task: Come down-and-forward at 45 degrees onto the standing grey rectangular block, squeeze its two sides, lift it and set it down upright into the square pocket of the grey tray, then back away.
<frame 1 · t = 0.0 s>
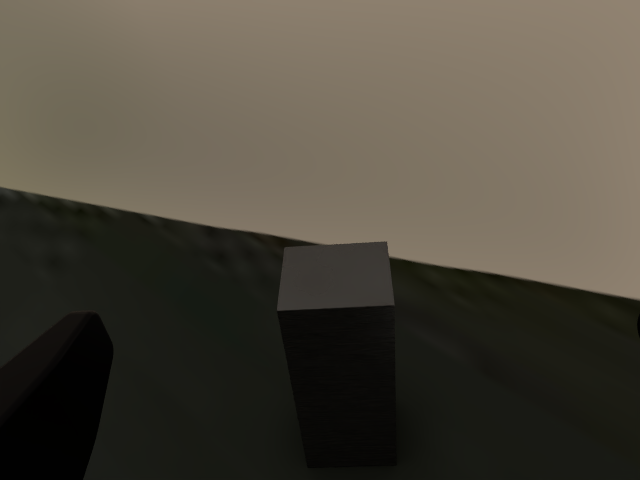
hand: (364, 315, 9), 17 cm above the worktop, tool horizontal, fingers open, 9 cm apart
grey rectangular block: (350, 431, 26), on the worktop
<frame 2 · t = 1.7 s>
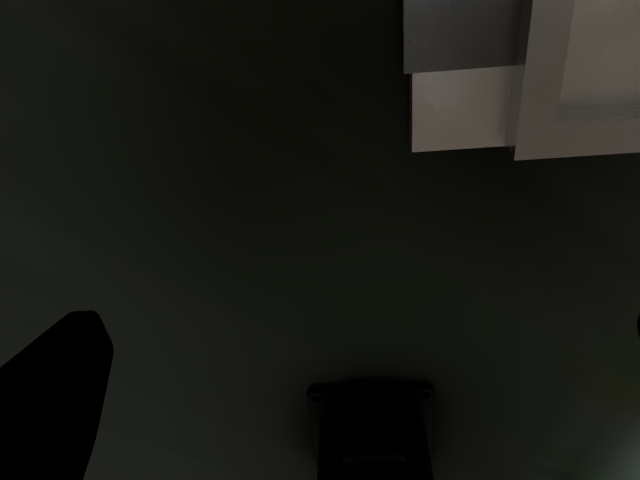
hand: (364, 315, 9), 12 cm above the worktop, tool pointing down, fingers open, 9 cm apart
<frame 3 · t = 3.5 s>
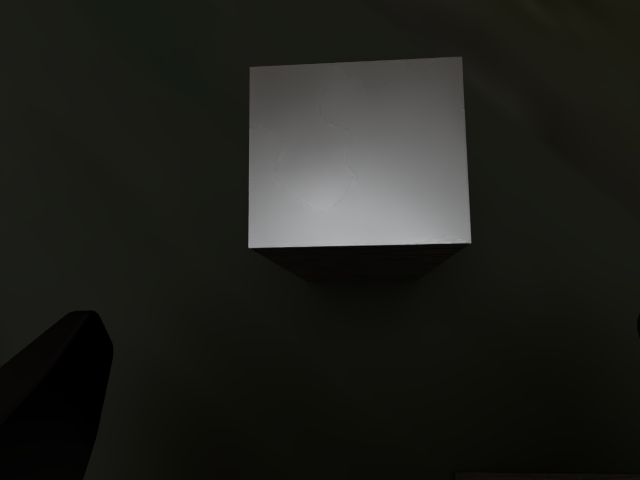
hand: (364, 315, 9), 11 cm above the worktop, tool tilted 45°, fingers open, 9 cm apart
grey rectangular block: (360, 233, 20), on the worktop
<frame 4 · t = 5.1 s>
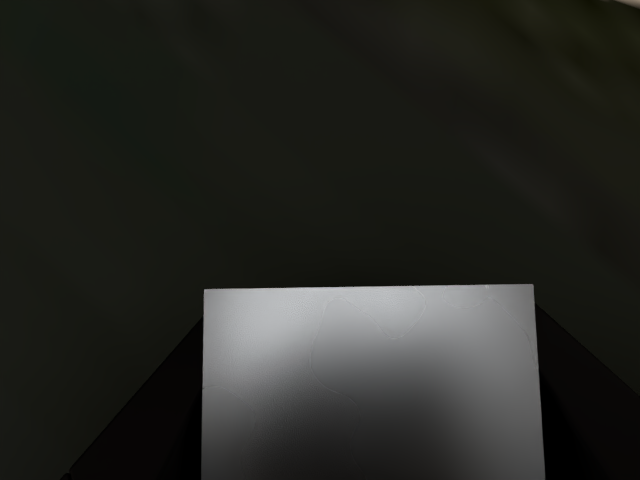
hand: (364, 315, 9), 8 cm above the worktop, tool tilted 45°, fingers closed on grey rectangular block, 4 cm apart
grey rectangular block: (367, 360, 16), on the worktop, touching gripper
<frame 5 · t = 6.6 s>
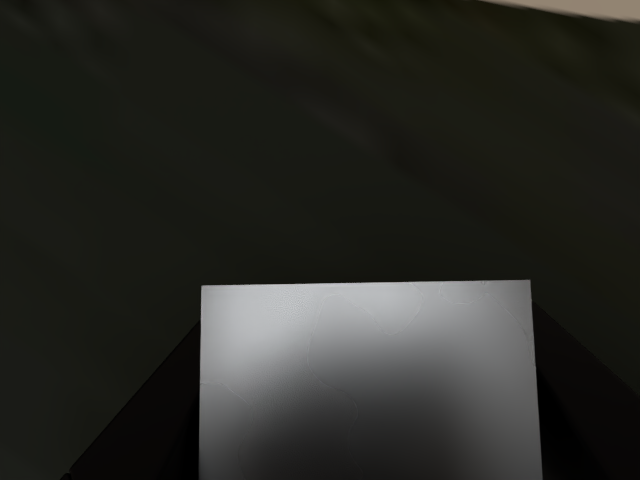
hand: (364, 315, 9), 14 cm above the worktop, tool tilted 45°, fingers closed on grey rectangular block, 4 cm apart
grey rectangular block: (366, 358, 16), point 6 cm above the worktop, touching gripper
when the fingers open (10 cm above the worktop, at t = 8.4 s): grey rectangular block drops 1 cm, resting on grey tray.
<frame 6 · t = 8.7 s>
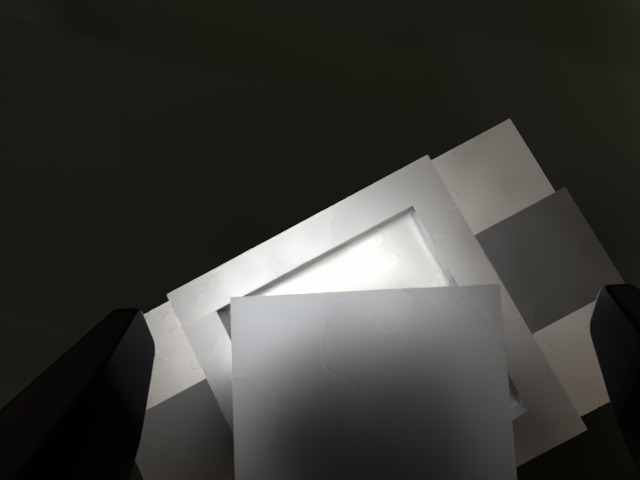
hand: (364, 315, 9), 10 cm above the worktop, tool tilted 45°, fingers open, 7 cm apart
grey rectangular block: (367, 355, 18), point 1 cm above the worktop, touching grey tray
grey tray: (367, 353, 19), on the worktop
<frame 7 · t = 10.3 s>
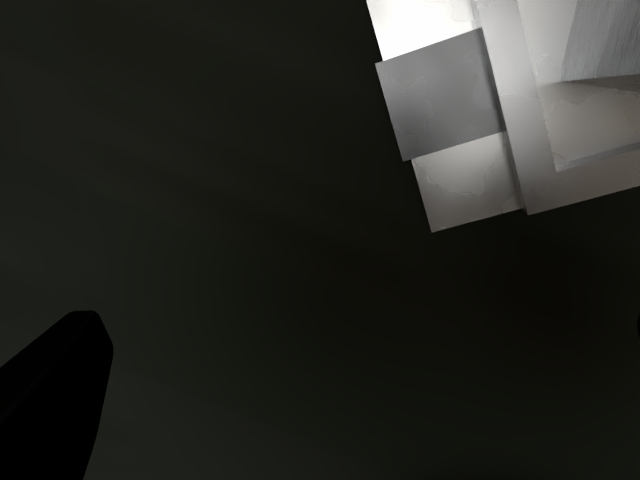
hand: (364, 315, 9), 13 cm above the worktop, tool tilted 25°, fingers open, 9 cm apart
grey rectangular block: (633, 34, 18), point 1 cm above the worktop, touching grey tray
grey tray: (621, 38, 19), on the worktop
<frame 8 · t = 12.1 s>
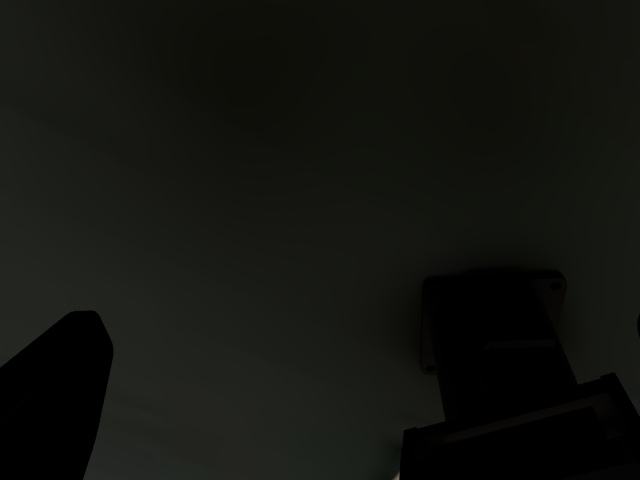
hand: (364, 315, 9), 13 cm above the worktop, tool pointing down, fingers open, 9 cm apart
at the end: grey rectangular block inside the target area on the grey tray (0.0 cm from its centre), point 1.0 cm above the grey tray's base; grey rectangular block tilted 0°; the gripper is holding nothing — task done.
